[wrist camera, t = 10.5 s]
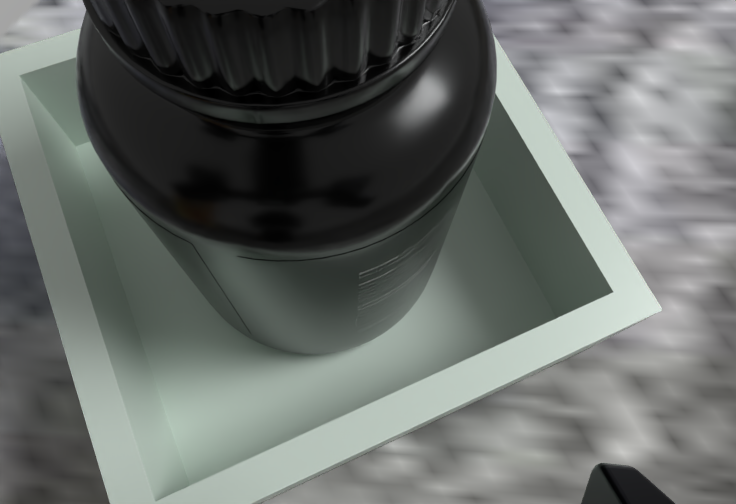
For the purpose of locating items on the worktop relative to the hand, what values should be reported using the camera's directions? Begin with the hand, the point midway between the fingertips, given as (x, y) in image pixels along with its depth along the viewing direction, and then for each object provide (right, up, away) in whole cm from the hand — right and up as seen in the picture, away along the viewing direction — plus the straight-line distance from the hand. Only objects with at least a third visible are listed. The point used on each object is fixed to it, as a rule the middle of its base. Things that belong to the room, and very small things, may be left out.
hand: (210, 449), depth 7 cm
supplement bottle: (0, +3, +11) cm, 11 cm away
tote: (0, +2, +12) cm, 12 cm away
